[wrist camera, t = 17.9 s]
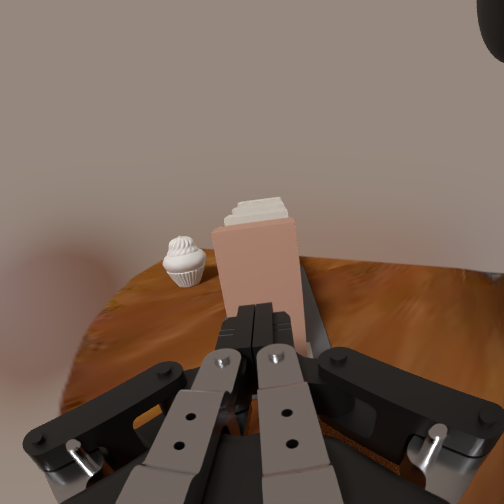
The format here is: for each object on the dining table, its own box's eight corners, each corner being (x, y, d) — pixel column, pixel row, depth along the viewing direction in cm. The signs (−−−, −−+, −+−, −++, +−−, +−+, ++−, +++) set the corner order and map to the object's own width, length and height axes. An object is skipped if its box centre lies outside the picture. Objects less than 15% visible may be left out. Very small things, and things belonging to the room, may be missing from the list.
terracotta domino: (307, 361, 20) (295, 222, 17) (238, 369, 20) (211, 233, 17) (304, 346, 22) (291, 217, 19) (240, 353, 22) (216, 227, 19)
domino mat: (342, 388, 17) (342, 383, 17) (205, 400, 18) (204, 396, 17) (303, 268, 40) (302, 265, 40) (238, 275, 41) (238, 272, 41)
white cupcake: (169, 295, 37) (157, 244, 36) (167, 281, 43) (157, 236, 41) (214, 285, 39) (204, 234, 37) (207, 272, 45) (198, 228, 43)
